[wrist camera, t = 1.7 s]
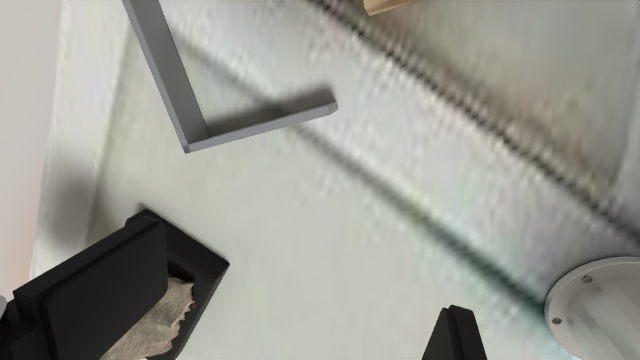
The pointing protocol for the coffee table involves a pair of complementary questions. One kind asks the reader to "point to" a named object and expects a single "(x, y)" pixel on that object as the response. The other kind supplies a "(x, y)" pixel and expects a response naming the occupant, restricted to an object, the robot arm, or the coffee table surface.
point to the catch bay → (178, 90)
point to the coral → (173, 299)
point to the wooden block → (383, 5)
